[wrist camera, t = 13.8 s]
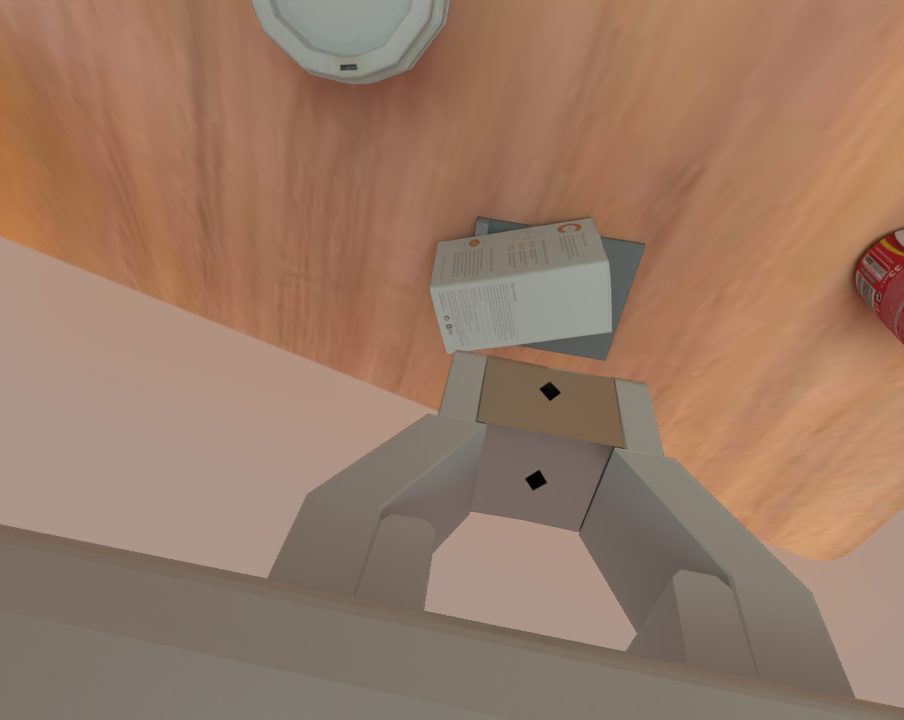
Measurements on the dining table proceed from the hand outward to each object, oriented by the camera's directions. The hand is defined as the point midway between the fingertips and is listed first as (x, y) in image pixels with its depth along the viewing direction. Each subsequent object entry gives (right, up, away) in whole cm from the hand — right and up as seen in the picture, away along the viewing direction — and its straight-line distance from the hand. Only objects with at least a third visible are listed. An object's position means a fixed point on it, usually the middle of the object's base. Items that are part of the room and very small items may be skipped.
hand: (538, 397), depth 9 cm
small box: (-3, +6, +36) cm, 36 cm away
